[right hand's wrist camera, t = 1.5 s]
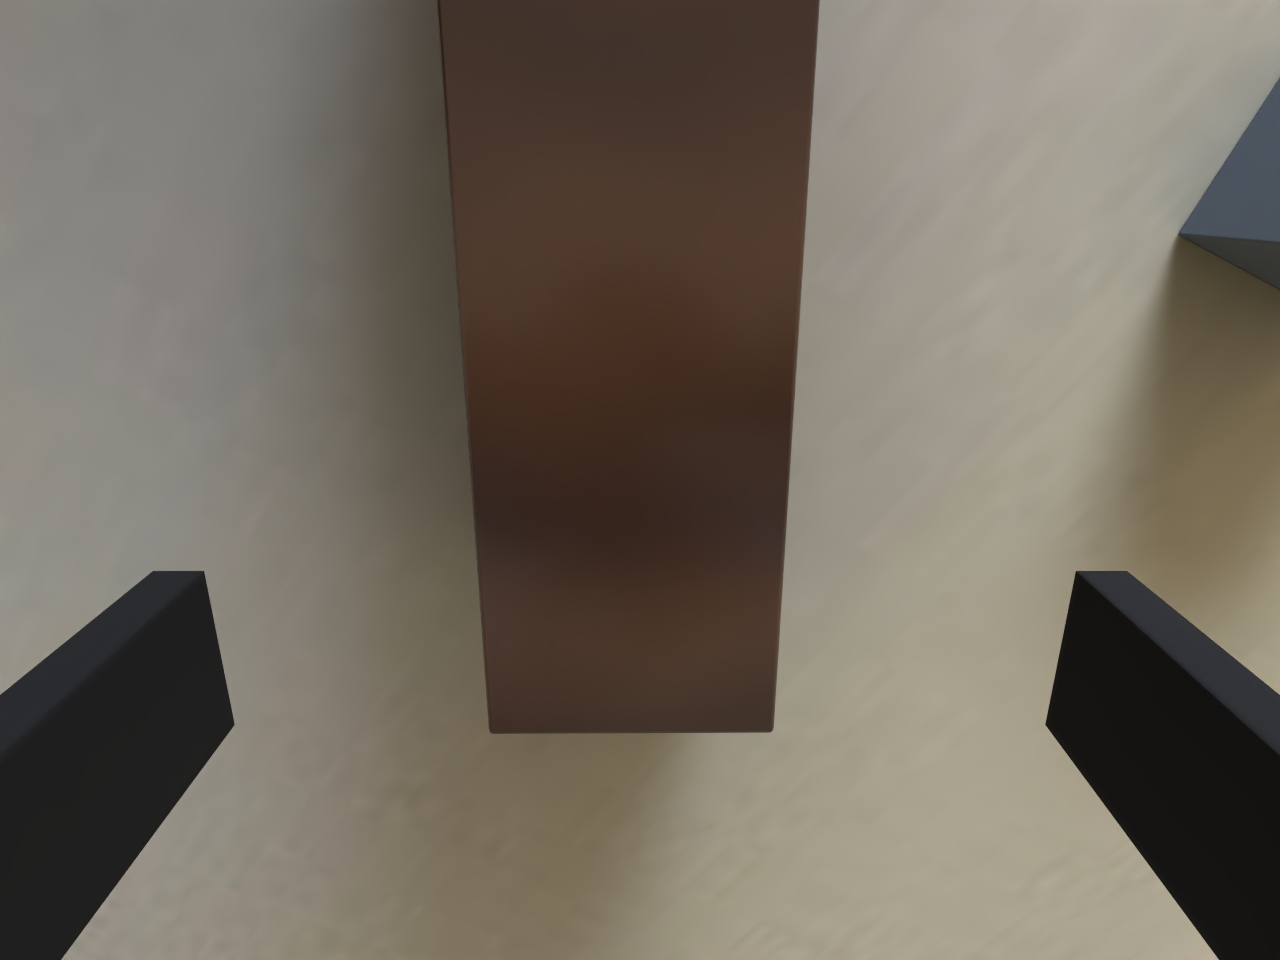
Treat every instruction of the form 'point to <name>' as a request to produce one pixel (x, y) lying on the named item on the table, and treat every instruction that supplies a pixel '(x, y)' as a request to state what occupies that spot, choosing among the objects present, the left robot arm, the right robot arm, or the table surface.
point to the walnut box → (629, 348)
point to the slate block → (1245, 200)
